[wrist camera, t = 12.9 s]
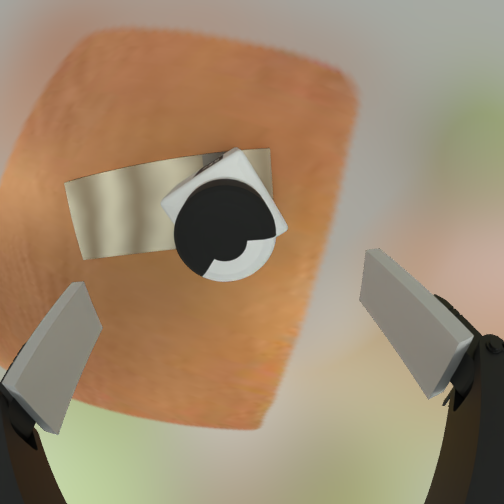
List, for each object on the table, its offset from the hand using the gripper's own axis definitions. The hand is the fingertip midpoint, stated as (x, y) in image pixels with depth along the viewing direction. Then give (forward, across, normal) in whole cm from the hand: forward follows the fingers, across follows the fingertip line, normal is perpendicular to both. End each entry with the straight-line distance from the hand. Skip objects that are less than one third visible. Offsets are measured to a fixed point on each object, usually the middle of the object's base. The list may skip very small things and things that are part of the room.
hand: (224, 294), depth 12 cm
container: (+19, 0, 0) cm, 19 cm away
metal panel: (+20, -7, 0) cm, 21 cm away
